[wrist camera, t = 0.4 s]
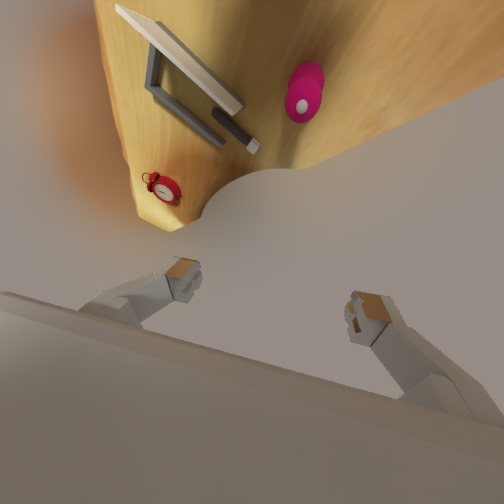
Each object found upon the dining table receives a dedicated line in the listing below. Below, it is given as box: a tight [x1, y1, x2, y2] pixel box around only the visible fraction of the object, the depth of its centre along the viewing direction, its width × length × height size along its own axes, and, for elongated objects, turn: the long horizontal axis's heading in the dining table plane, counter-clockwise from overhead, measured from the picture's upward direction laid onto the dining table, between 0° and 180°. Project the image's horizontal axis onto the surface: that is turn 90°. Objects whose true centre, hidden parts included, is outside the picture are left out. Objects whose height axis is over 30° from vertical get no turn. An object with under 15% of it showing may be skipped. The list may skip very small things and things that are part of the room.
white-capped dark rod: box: [212, 108, 261, 155], centre depth 49 cm, size 15×3×3 cm, turn 54°
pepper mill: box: [285, 61, 324, 123], centre depth 34 cm, size 7×7×20 cm
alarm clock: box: [142, 172, 182, 206], centre depth 70 cm, size 10×6×15 cm
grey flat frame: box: [145, 21, 245, 148], centre depth 45 cm, size 12×22×3 cm, turn 54°
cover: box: [115, 3, 242, 116], centre depth 36 cm, size 11×22×1 cm
